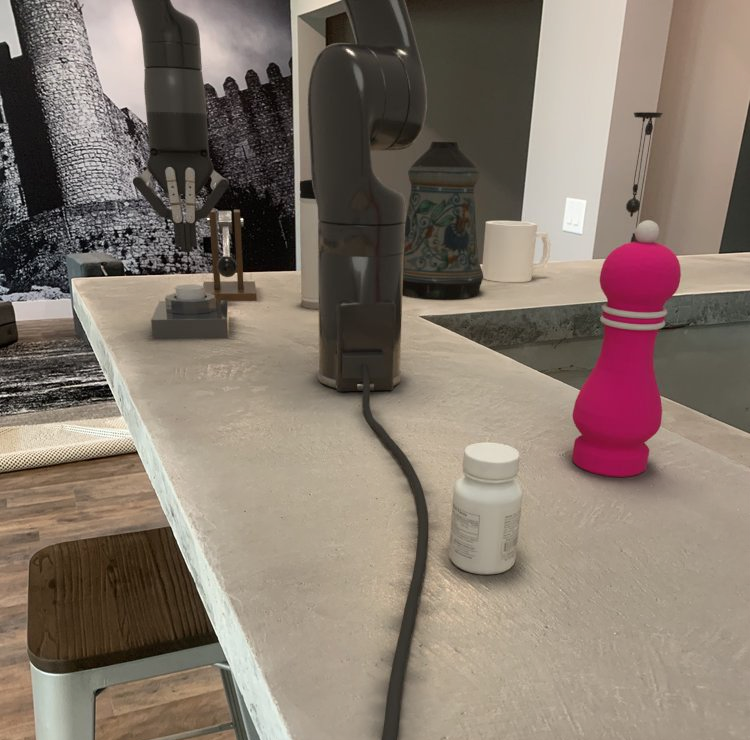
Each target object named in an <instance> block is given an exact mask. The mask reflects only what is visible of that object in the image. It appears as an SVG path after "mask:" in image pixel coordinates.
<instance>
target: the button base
mask: <svg viewBox="0 0 750 740" xmlns="http://www.w3.org/2000/svg"><path fill="white" fill-rule="evenodd" d="M229 314H230V313H229V301H228V300H225V301H216V295H213V294H210V293H205V298H203V299H196V300H182V299H176V292H175V293H171V294H167V295H165V297H164V300H159V301H158V304H157V306H156V308H155V310H154V312H153V315H152V317H151V319H150V323H151V333H152V335H151V336H152V340H190V339H191V340H198V339H199V340H201V339H202V340H203V339H204V340H207V339H229V327H230V319H229V318H230V315H229Z"/></svg>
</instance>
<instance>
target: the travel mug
mask: <svg viewBox="0 0 750 740" xmlns="http://www.w3.org/2000/svg"><path fill="white" fill-rule="evenodd" d="M299 192H300V193H299V201H300V202H299V235H300V240H299V241H300V244H299V245H300V247H299V248H300V294H301V298H300V299H301V301H300V303H301V307H302V308H305V309H309V310H319V285H318V207H317V202H316V198H315V195H314V191H313V186H312V179H306V180H305V179H304V180H300V181H299Z"/></svg>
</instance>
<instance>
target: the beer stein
mask: <svg viewBox="0 0 750 740" xmlns="http://www.w3.org/2000/svg"><path fill="white" fill-rule="evenodd" d="M407 174H408V181H409V182H410V195H409V198H408V199H409V200H408V206H407V210H406V217H405V245H404V268H403V295H402V296H405V297H406V296H407V297H410V298H418V299H424V300H425V299H427V300H429V299H430V300H464V299H465V300H466V299H470V298H473V297H477V296H478V295H479V293H480V288H481V285H482V282H483V272H482V266H481V264H480V259H479V258H480V257H479V251H478V241H477V240H478V239H477V223H476V203H475V188H476V187H475V186H476V184H477V183H478V181H479V178H480V171H479V170H478V168H477V166H476V165H475V164H474V163H473V162H472V161H471V160H470V159H469V158H468V157H467V156H466V155H465V154H464V153H463V152H462V151H461V150H460V149H459V145H458V142H457V141H456V142H455V141H431V144H430V146H429V148H428V149H427V150H426V151H425V152H424V153H423V154H422V155H421V156H420V157H419V158H418V159H416V161H415V162H414V163H413V164H412V165H411V166H410V168H409V169H408V171H407Z"/></svg>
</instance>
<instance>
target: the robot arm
mask: <svg viewBox="0 0 750 740" xmlns="http://www.w3.org/2000/svg"><path fill="white" fill-rule="evenodd" d="M340 1H341V4H342V6H343V8H344V10H345V12H346V14H347V17H348V20H349V23H350V26H351V30H352V33H353V37H354V41H355V43H349V42H336V43H335V42H334V43H331V44H329V45H326V46H325V47H323V49H322V50H321V51H320V52H318V54H317V56H316V57H315V59H314V62H313V64H312V67H311V69H310V74H309V79H308V85H307V86H308V88H307V103H306V104H307V105H306V106H307V126H308V141H309V155H310V157H309V158H310V175H311V177H310V178H311V179H310V180H312V186H313V191H314V195H315V198H316V202H317V207H318V285H319V309H318V372H317V374H318V377H317V378H318V381H319V382H320V383H321V384H323V385H324V386H327V387H330V388H334V389H335V390H336V391H337V392H362V400H361V401H362V411H363V416H364V418H365V420H366V422H367V423H368V426H370V427H371V428H372V429H373V430H374V431H375V432H376V433H377V434H378V436H379V437H380V439H381V440H382V441H383V442H384V444H385V445H386V446H387V448H388V449H389V450H390V451H391V452H392V453H393V454H394V456H395V457H396V458H397V460H398V462H399V463H400V464H401V466H402V468H403V469H404V472H405V473H406V475H407V477H408V479H409V482H410V484H411V486H412V490H413V494H414V498H415V504H416V509H417V520H418V527H417V539H416V540H417V541H416V542H417V543H416V544H417V545H416V550H415V551H416V553H415V559H414V566H413V571H412V576H411V580H410V585H409V588H408V593H407V597H406V601H405V605H404V610H403V614H402V619H401V625H400V630H399V634H398V638H397V642H396V647H395V650H394V651H395V652H394V655H393V656H394V657H393V660H392V666H391V670H390V675H389V682H388V687H387V696H386V701H385V702H386V703H385V713H384V720H383V726H382V727H383V728H382V734H381V735H382V736H381V740H398V737H399V729H400V727H399V726H400V718H401V708H402V707H401V706H402V696H403V695H402V694H403V685H404V679H405V673H406V667H407V662H408V657H409V651H410V647H411V643H412V636H413V631H414V627H415V626H414V625H415V620H416V614H417V610H418V609H417V608H418V604H419V599H420V594H421V590H422V586H423V581H424V577H425V576H424V575H425V572H426V571H425V570H426V565H427V556H428V544H429V543H428V541H429V513H428V506H427V501H426V497H425V493H424V489H423V487H422V484H421V480H420V479H419V477H418V475H417V473H416V470H415V469H414V467H413V465H412V463H411V462H410V460H409V458H408V457H407V455H406V454H405V452H403V451H404V450H402V449H401V448H400V447H399V445H398V444H397V443H396V442H395V441H394V440H393V439H392V437H391V436H390V435H389V434H388V432H387V431H386V430H385V429H384V427H383V426H382V425H381V424H380V423H379V422H378V421H377V420H376V419H375V418H374V417H373V415H372V410H371V406H370V405H371V404H370V397H371V396H370V395H371V391H372V392H373V391H393V390H394V386H396V385H398V384H400V382H401V376H402V375H401V351H402V348H401V347H402V345H401V344H402V322H403V320H402V319H403V316H402V315H403V296H404V295H403V268H404V245H405V223H406V217H407V203H406V197H405V196H404V194H403V193H402V192H401V191H400V190H398V189H396V188H394V187H392V186H389V185H388V184H386V183H385V182H384V181H382V180H381V179H380V178H379V176H378V175H377V174H376V172H375V171H374V166H373V161H372V151H375V152H376V151H401V150H404V149H407V148H409V147H411V146H412V145H413V144H414V143H415V142H416V141H417V139H418V138H419V137H420V135H421V133H422V130H423V128H424V125H425V122H426V121H425V120H426V117H427V109H428V95H427V94H428V93H427V84H426V83H427V82H426V77H425V71H424V67H423V62H422V59H421V55H420V51H419V47H418V44H417V40H416V36H415V32H414V29H413V25H412V21H411V18H410V15H409V11H408V10H409V9H408V7H407V2H406V0H340ZM131 3H132V6H133V9H134V10H133V11H134V12H135V17H136V19H137V23H138V25H139V29H140V35H141V45H142V56H143V67H144V81H143V86H144V87H143V91H144V92H143V93H144V101H145V103H144V104H145V115H146V124H147V135H148V147H149V148H148V149H149V156H148V159H147V162H146V169H145V170H144V171H142V173H140V174H139V175H137V176H134V178H132V184H133V186H134V187H135V189H137V191H138V192H139V193H140V194H141V195H142V196H143V198H144V199H145V200H146V202H148V204H149V205H150V206H151V207H152V208H153V210H154V211H155V212H156V213H157V214H158V215H159V217H160V218H161V219H166V220H170V222H172V223H173V231H174V232H173V234H174V245H175V247H176V248H180V252H181V253H192V252H193V248H196V246H197V244H198V237H197V226H196V225H197V222H198V221H199V220H202V219H207V218H208V217H209V214H210V212H211V211H212V210H214V208H215V207H216V205H217V203H218V202H219V201H220V199H221V198H222V196H223V195H224V194H225V192H226V190H227V189H228V188H229V185H230V182H229V179H227V178H226V177H223V175H221V174H220V173H218V172H217V171H216V170H215V169H214V163H213V161H212V159H211V157H210V152H209V151H210V150H209V148H210V147H209V133H208V119H207V118H208V117H207V115H208V114H207V109H208V104H207V100H206V99H207V98H206V88H205V83H204V77H203V71H202V70H203V67H202V51H201V37H200V35H201V34H200V29H199V26H198V23H197V21H196V20H194V19H195V18H192V17H191V16H190V15H187V14H185V13H183V12H181V11H179V10H178V9H177V8H175V6H174V5H173V3H172V1H171V0H131ZM152 178H153V179H154V180H155V181H156V183H157V184H158V185H159V186H160V188H161V190H162V191H163V192H165V193H166V194H168V198H169V203H170V208H169V207H168V206H167V205H166V204H165V203H164V201H163V200H162V199H161V198H160V196H159V195H158V194H157V193H156V192H155V190H154V189H153V187H154V181H153V179H152ZM210 178H211V182H210V183H209V185H210V188H211V190H212V192H211V193H210V194H209V196H208V197H207V199H206V200H205V202H204V203H203V205H202V206H201V207H200V208H198V209H197V195H199V194H200V192H201V191H202V190H203V188H204V187H205V185H206V184H207V182H208V181H209V179H210ZM181 195H185V221H184V211H183V206H182V196H181Z"/></svg>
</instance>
